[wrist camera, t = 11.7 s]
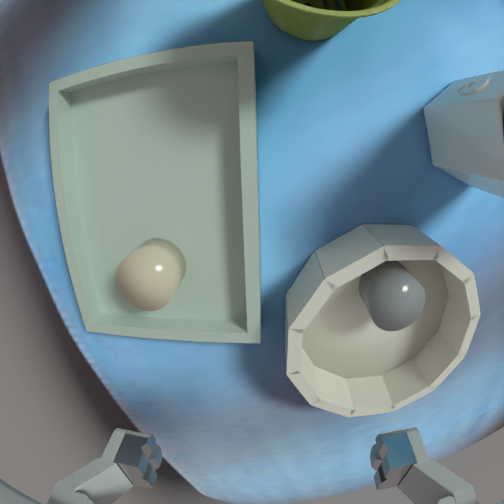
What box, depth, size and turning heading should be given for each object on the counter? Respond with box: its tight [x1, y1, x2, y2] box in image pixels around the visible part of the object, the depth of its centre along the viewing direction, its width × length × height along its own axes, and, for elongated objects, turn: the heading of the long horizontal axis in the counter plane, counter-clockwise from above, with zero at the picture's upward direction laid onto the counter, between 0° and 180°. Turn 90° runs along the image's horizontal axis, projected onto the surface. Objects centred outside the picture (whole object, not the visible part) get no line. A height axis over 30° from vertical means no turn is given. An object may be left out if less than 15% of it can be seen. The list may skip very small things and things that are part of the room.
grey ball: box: [359, 260, 426, 331], centre depth 21 cm, size 4×4×4 cm
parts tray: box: [49, 41, 262, 343], centre depth 21 cm, size 22×16×2 cm
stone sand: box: [116, 238, 186, 311], centre depth 22 cm, size 4×4×4 cm
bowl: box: [285, 224, 480, 417], centre depth 23 cm, size 16×16×5 cm
